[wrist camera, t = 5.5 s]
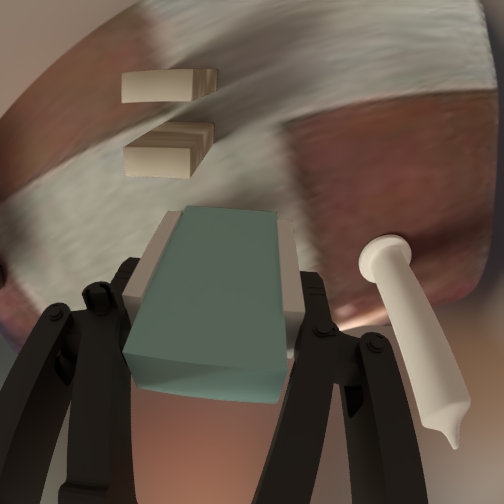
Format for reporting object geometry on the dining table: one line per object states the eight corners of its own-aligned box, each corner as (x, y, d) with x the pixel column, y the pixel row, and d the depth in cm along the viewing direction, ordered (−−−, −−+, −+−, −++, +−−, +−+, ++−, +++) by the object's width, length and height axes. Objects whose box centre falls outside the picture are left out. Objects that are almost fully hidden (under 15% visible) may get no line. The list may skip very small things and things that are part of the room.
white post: (419, 242, 34) (511, 421, 13) (393, 284, 38) (452, 459, 17) (374, 226, 33) (462, 433, 12) (349, 273, 37) (396, 471, 16)
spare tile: (272, 245, 18) (277, 403, 10) (187, 238, 18) (137, 387, 9) (276, 212, 17) (288, 370, 8) (186, 205, 16) (122, 352, 8)
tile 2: (213, 144, 29) (189, 178, 20) (165, 142, 29) (125, 175, 20) (214, 123, 27) (190, 148, 19) (165, 121, 27) (123, 147, 19)
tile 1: (216, 90, 26) (191, 101, 17) (166, 90, 26) (121, 102, 17) (217, 69, 24) (193, 69, 16) (167, 69, 24) (121, 72, 16)
